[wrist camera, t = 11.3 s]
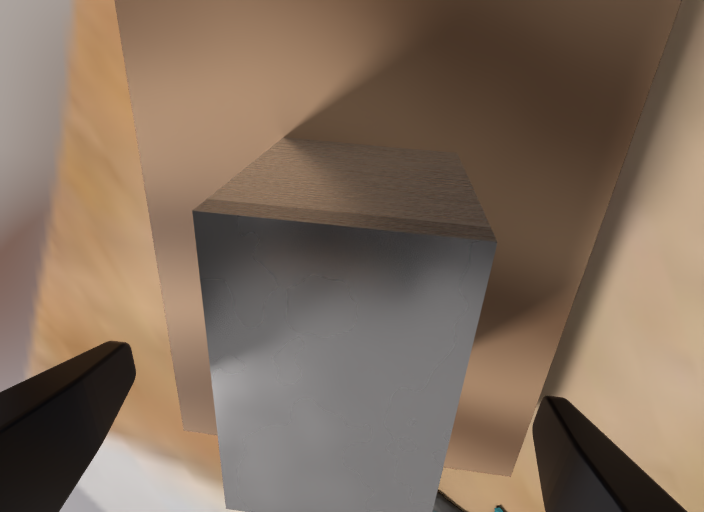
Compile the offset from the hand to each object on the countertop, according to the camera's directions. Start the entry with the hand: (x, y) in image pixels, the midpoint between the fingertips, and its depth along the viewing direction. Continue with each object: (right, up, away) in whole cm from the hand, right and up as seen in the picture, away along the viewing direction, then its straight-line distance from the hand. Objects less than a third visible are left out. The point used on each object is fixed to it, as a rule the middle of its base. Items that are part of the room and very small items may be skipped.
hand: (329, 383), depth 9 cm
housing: (+1, +2, +5) cm, 5 cm away
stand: (+1, +4, +7) cm, 8 cm away
